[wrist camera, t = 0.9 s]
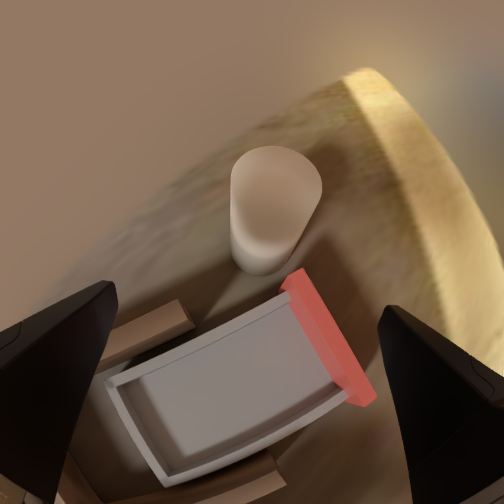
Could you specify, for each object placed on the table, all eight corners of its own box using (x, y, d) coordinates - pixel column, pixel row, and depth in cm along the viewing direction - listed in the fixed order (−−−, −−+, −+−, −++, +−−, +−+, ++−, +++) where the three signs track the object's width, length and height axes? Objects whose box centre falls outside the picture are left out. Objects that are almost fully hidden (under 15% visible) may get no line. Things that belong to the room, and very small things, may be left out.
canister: (300, 259, 25) (339, 199, 16) (248, 286, 24) (260, 236, 14) (270, 212, 26) (290, 136, 17) (220, 235, 25) (215, 163, 16)
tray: (352, 392, 21) (377, 397, 16) (174, 482, 17) (163, 505, 13) (289, 284, 24) (302, 267, 20) (111, 372, 20) (86, 373, 16)
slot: (275, 461, 18) (286, 484, 14) (100, 516, 14) (79, 538, 9) (188, 311, 22) (177, 298, 18) (28, 385, 18) (-4, 385, 14)
